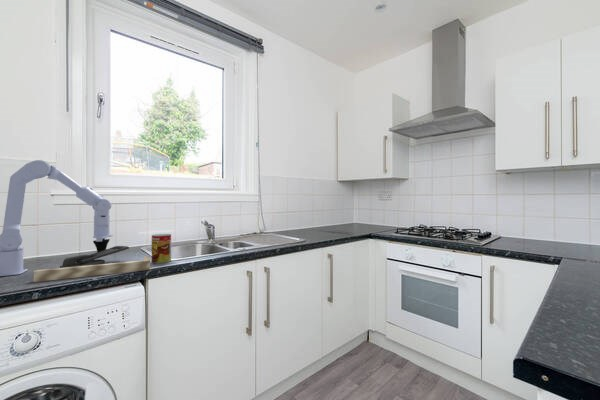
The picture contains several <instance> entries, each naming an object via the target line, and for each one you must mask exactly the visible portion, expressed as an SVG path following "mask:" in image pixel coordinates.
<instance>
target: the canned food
mask: <svg viewBox="0 0 600 400" xmlns="http://www.w3.org/2000/svg"><path fill="white" fill-rule="evenodd" d="M171 261H172V234H171V233H156V234H151V263H152V264H163V263H169V262H171Z"/></svg>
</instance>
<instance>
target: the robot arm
mask: <svg viewBox="0 0 600 400" xmlns="http://www.w3.org/2000/svg"><path fill="white" fill-rule="evenodd" d="M47 176H48V177H47ZM9 177H10V178H9V184H8V191H7V198H6V203H5V204H6V205H5V210H4V211H5V212H4V218H3V225H2V232H1V233H0V277H4V276H5V277H6V276H17V275H21V274H23V273H25V272H26V271H28V268H24V247H23V246H21V245H22V243H23V238H22V235H21V234H20V233H21V225H22V216H23V208H24V203H25V202H24V201H25V193H26V186H27V184H28V183H31V182H33V181H34V180H36V179H37V180H38V179H42V178H45V177H47V179H49V180H55V181H57V182H60V183H61V184H63V185H64V186H65V187H67V188H69V189H70V190H72V191H73V192H74V193H75V195H76V198H78V199H79V200H81V201H83V203H86V205H88V206H90V207H92V209H93V214H94V215H93V236H92V238H93V239H95V240H93V244H94V246H95V248H96V253H97V252H100V251H103V250H106V249H107V247H108V245H109V242H110V241H111V239H110V238H111V237H113V236H114V235H113V234H110V222H111V221H110V210H111V208H112V205H111V202H110V200H108V199H105V198H104V196H103V195H100V194H98V193H97V192H95V191H94V188H93V187H89V186H81V185H80V184H79V183H78V182H76V181H75V180H74V179H73V178H71V177H70V176H68V175H67V174H65V173H64V172H63V171H62V170H60V169H58V168H57V167H56V166H54V165H50V163H49V162H47V161H45V160H42V159H36V160H33V161H29V162H28V163H27V162H26V163H25V164H24V165H23V166H21V168H19V169H18V170H16V171H15V172H14V173H13V174H12V175H10V176H9Z"/></svg>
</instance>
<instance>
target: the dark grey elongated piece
mask: <svg viewBox="0 0 600 400" xmlns="http://www.w3.org/2000/svg"><path fill="white" fill-rule="evenodd" d="M129 249H130V247H129V246H127V245H115V246H113V247H108V248H106V250H103V251H100V252H97V251H96V252H94V253H92V254H84V255H83V254H82V255H76V256H70V257H66V258H65V259H63V262H62V264H61V265H60V266H59V268H66V267H77V266H88V265H99V264H106V260H105V259H100V258H103V257H106V256H109V255H112V254H116V253H120V252H123V251H126V250H129Z"/></svg>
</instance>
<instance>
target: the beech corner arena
mask: <svg viewBox="0 0 600 400" xmlns="http://www.w3.org/2000/svg"><path fill="white" fill-rule="evenodd" d="M150 270H151V254H150V255H144V259H143V260H134V261H121V262H113V263H105V264H99V265H88V266H77V267H66V268H60V267H58V268H57V267H56V268H45V269H36V270H33V283H38V282H46V281H47V282H48V281H57V280H65V279H74V278H85V277H94V276H102V275H110V274H111V275H113V274H121V273H130V272H131V273H132V272H141V271H150Z"/></svg>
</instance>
